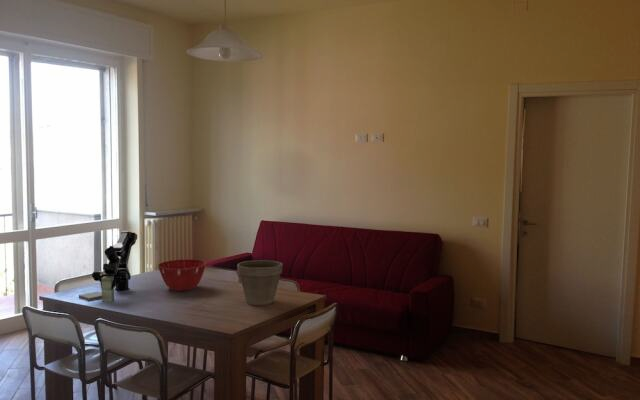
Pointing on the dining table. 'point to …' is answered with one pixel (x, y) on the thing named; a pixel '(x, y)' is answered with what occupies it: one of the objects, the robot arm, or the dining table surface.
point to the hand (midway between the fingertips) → (106, 289)
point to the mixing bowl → (182, 273)
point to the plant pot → (259, 280)
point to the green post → (107, 288)
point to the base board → (91, 296)
